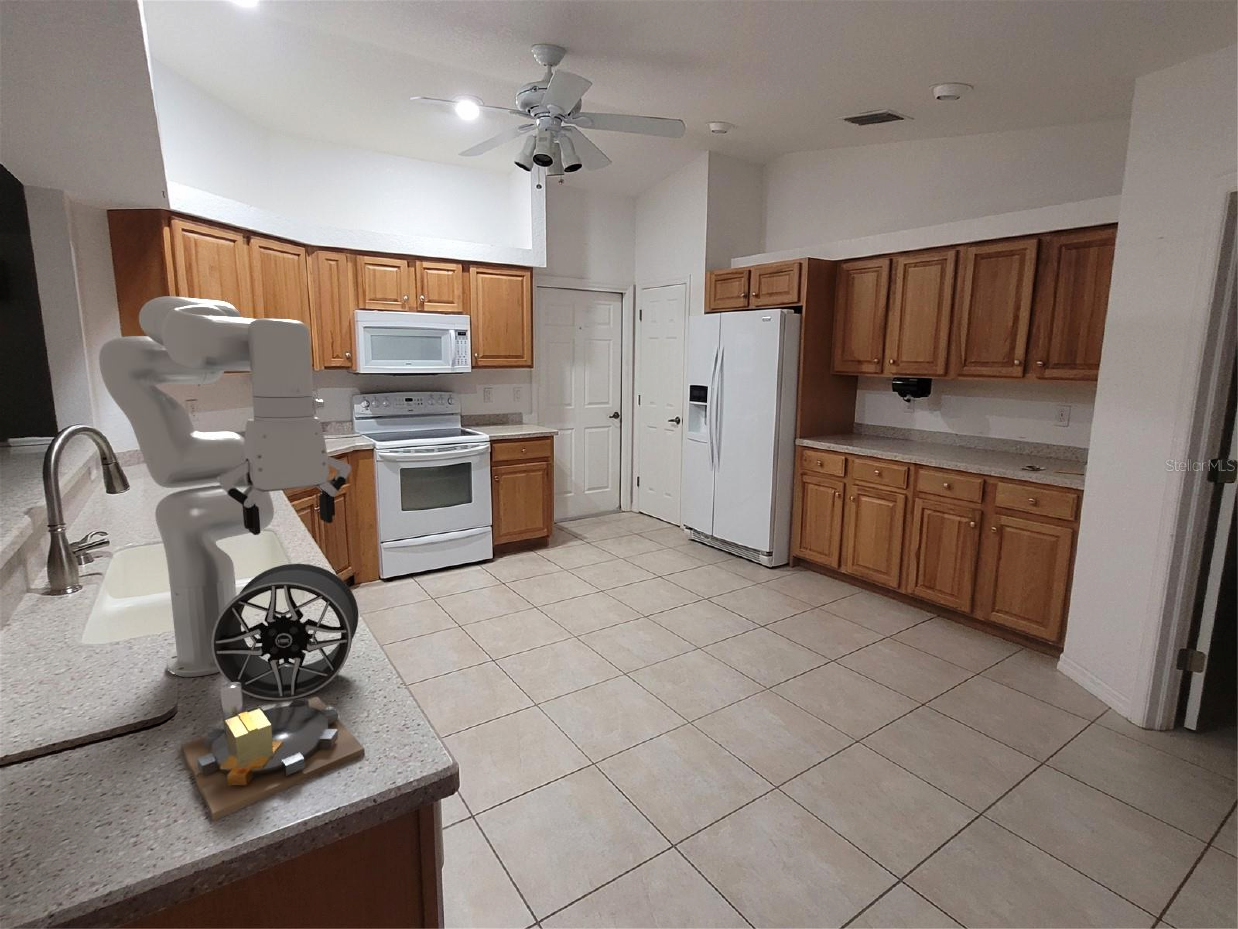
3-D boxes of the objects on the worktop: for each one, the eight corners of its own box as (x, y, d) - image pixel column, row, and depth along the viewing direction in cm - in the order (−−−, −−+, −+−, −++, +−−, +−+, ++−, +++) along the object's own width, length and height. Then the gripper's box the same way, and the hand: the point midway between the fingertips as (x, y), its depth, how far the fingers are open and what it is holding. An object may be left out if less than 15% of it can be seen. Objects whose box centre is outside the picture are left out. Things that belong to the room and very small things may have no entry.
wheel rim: (216, 707, 95) (205, 586, 91) (235, 678, 103) (226, 566, 100) (353, 692, 100) (348, 577, 97) (361, 666, 109) (356, 559, 105)
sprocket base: (181, 750, 84) (180, 742, 84) (317, 702, 97) (317, 694, 97) (213, 821, 72) (212, 811, 72) (364, 754, 84) (364, 746, 84)
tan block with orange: (227, 751, 79) (224, 719, 78) (261, 738, 82) (259, 707, 81) (238, 770, 76) (235, 736, 75) (273, 756, 79) (271, 723, 78)
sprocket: (167, 785, 75) (160, 723, 74) (244, 708, 92) (240, 656, 91) (306, 784, 76) (302, 723, 75) (358, 708, 93) (355, 657, 91)
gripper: (337, 405, 93) (342, 512, 96) (205, 409, 81) (215, 532, 84) (357, 409, 88) (362, 522, 91) (219, 413, 76) (230, 544, 79)
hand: (291, 526), depth 88 cm, fingers open, 9 cm apart
